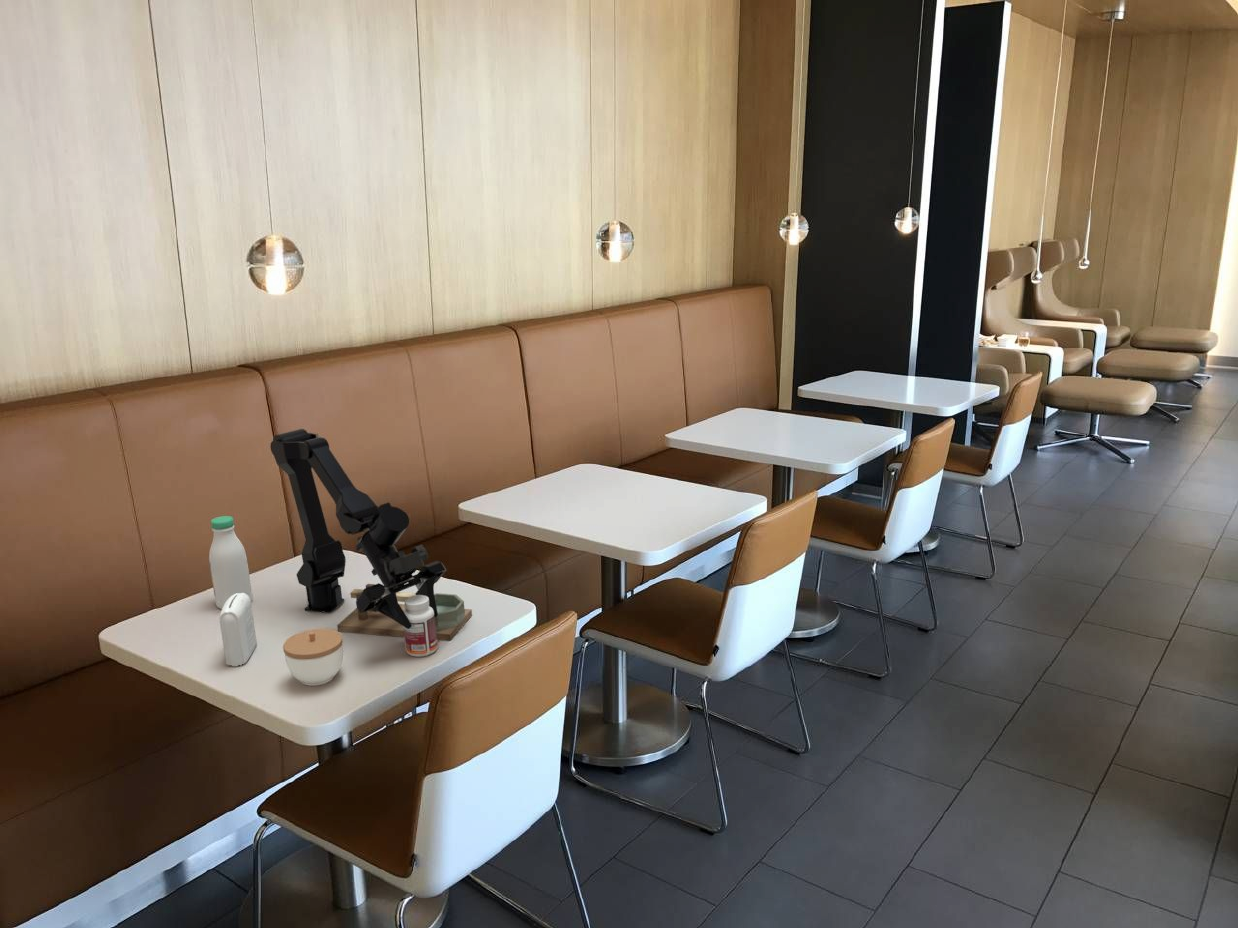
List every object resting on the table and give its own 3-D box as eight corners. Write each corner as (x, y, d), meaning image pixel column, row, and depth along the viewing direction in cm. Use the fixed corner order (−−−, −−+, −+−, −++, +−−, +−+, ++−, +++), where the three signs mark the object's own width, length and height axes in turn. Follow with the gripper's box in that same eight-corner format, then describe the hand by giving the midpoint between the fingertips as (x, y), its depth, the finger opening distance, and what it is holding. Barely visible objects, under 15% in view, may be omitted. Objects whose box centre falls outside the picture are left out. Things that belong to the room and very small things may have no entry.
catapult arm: (343, 623, 214) (340, 600, 212) (366, 603, 223) (363, 580, 222) (452, 632, 208) (450, 608, 207) (470, 610, 218) (468, 588, 216)
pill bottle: (428, 640, 208) (423, 590, 205) (443, 650, 204) (439, 599, 201) (400, 650, 205) (395, 599, 201) (415, 660, 200) (410, 609, 197)
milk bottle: (260, 600, 230) (248, 516, 224) (231, 613, 224) (218, 527, 218) (237, 593, 234) (225, 510, 228) (208, 606, 228) (195, 521, 222)
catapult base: (337, 631, 214) (333, 599, 212) (364, 607, 225) (361, 576, 223) (450, 640, 208) (447, 607, 206) (472, 615, 219) (469, 584, 217)
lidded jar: (294, 666, 199) (288, 622, 197) (351, 662, 200) (345, 618, 197) (282, 694, 189) (275, 648, 186) (341, 690, 190) (335, 644, 187)
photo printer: (238, 644, 210) (229, 588, 206) (259, 642, 210) (251, 586, 206) (223, 668, 200) (214, 609, 196) (246, 666, 200) (237, 608, 196)
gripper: (358, 550, 193) (399, 619, 189) (436, 522, 207) (476, 587, 203) (338, 579, 201) (378, 646, 197) (415, 550, 214) (454, 613, 210)
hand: (423, 622), depth 201 cm, fingers closed on pill bottle, 6 cm apart
